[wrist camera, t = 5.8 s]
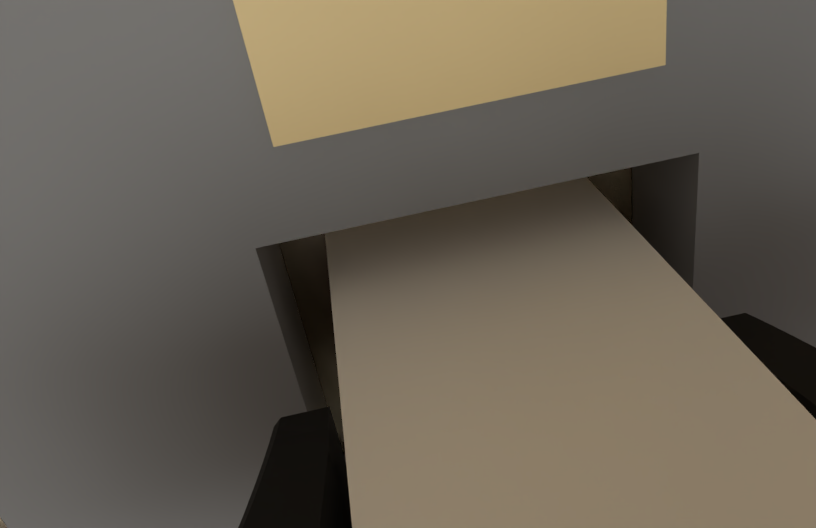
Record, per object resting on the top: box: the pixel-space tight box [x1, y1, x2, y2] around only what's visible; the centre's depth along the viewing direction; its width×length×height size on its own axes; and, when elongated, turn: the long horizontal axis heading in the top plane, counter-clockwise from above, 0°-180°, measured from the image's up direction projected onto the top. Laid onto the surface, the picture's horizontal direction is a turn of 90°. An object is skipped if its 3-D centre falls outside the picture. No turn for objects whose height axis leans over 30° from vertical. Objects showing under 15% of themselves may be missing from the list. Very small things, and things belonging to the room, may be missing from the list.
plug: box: [325, 177, 816, 528], centre depth 8 cm, size 4×4×8 cm
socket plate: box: [0, 0, 816, 528], centre depth 10 cm, size 20×14×2 cm
